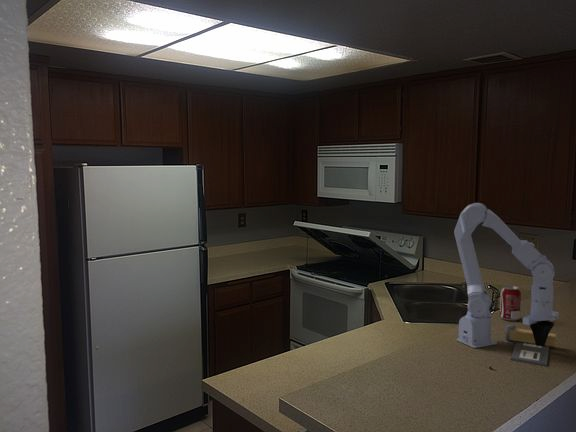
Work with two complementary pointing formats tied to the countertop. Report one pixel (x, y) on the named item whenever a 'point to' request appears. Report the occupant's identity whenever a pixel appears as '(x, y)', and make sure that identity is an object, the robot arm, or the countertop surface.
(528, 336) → the bar
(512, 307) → the soda can
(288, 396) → the countertop surface
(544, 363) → the label plate
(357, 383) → the countertop surface
